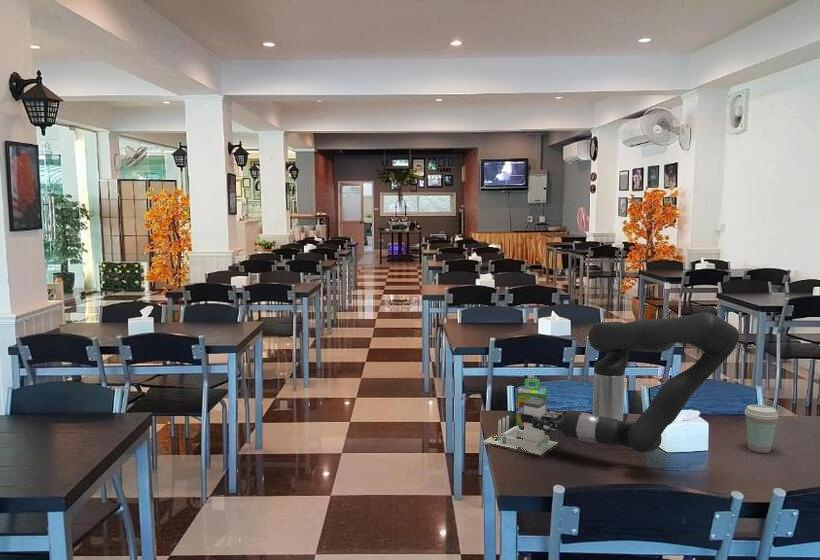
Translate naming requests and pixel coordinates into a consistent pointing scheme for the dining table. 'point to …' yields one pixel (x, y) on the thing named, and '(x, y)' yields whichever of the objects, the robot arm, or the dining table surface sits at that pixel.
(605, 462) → the dining table surface
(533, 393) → the chalk box
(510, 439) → the header socket
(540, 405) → the block
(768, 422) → the coffee cup
